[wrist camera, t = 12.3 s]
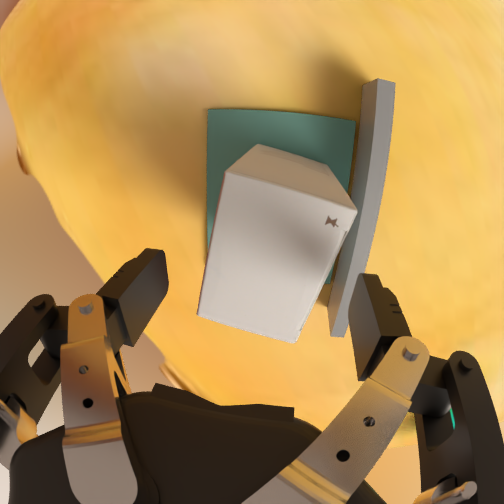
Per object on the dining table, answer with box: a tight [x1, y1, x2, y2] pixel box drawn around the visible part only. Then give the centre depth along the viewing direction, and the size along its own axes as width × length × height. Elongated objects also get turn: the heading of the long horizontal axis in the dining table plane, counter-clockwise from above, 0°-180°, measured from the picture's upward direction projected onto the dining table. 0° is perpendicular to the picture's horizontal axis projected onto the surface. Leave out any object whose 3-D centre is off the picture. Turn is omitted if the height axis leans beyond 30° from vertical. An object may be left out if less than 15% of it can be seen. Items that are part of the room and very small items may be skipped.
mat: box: [207, 109, 356, 284], centre depth 22 cm, size 14×11×1 cm
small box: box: [197, 144, 357, 343], centre depth 17 cm, size 8×6×10 cm
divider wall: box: [327, 78, 395, 337], centre depth 19 cm, size 20×1×4 cm, turn 178°
